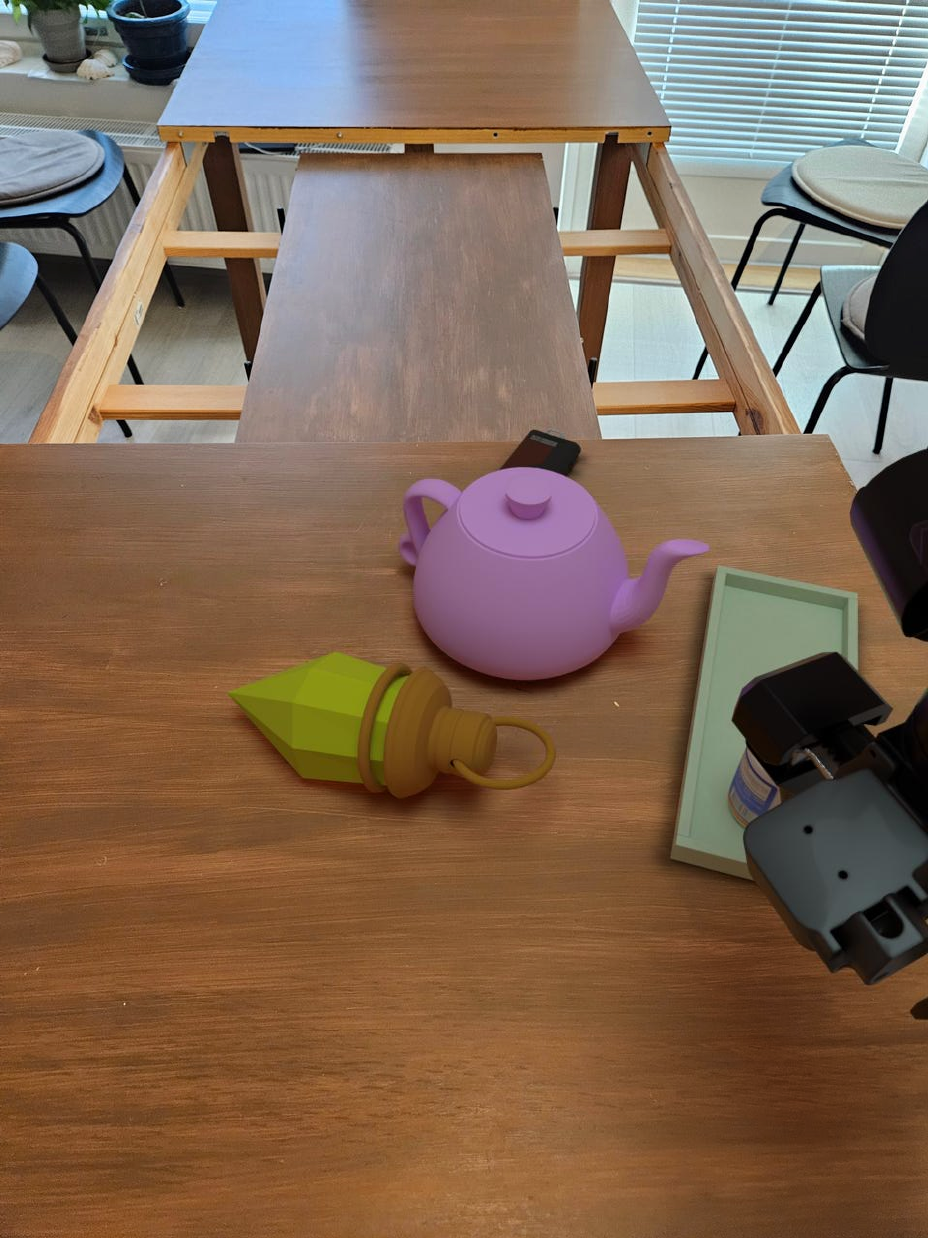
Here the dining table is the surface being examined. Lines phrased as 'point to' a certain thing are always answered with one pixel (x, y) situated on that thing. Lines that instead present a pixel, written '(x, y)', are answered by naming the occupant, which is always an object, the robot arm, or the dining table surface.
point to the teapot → (526, 573)
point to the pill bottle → (751, 790)
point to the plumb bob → (377, 726)
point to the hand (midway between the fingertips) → (853, 922)
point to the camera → (544, 452)
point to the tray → (731, 657)
